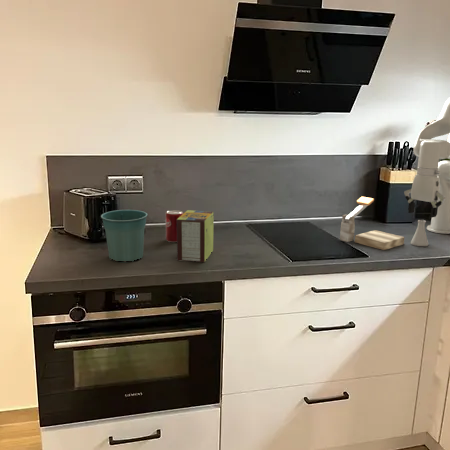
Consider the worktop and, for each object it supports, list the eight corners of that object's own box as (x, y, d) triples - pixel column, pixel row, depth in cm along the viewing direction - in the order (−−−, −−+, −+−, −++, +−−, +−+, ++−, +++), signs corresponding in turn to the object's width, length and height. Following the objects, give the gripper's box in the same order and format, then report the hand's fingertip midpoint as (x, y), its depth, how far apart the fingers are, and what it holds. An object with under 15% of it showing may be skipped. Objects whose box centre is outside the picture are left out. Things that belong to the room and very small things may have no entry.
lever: (353, 223, 214) (352, 218, 213) (341, 220, 218) (340, 215, 217) (374, 203, 221) (373, 198, 220) (362, 201, 226) (361, 196, 224)
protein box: (213, 250, 201) (214, 211, 197) (204, 262, 186) (205, 220, 183) (187, 248, 203) (187, 209, 199) (176, 260, 188) (176, 218, 184)
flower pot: (129, 267, 180) (127, 222, 176) (93, 259, 187) (91, 216, 184) (157, 255, 194) (156, 213, 190) (123, 248, 201) (121, 207, 197)
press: (362, 233, 229) (364, 210, 226) (403, 244, 214) (406, 219, 211) (339, 239, 219) (341, 215, 216) (381, 251, 204) (383, 224, 201)
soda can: (165, 243, 210) (164, 214, 207) (166, 238, 217) (166, 210, 214) (183, 243, 210) (183, 214, 207) (184, 238, 217) (183, 210, 214)
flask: (430, 247, 210) (432, 223, 207) (411, 246, 211) (413, 222, 209) (427, 242, 217) (429, 219, 214) (408, 241, 218) (411, 218, 216)
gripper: (452, 174, 202) (447, 217, 206) (412, 169, 215) (407, 210, 219) (443, 175, 198) (437, 219, 201) (402, 170, 211) (397, 212, 214)
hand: (421, 214), depth 210 cm, fingers open, 9 cm apart
